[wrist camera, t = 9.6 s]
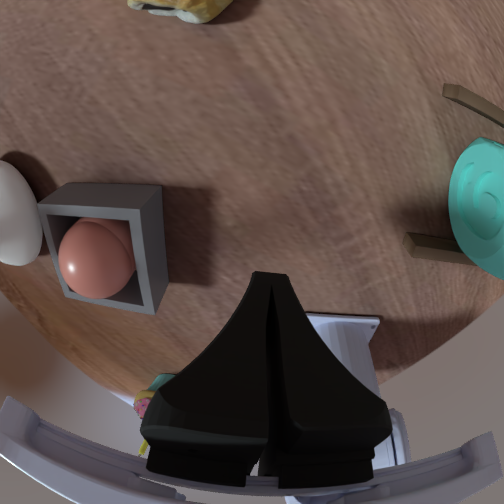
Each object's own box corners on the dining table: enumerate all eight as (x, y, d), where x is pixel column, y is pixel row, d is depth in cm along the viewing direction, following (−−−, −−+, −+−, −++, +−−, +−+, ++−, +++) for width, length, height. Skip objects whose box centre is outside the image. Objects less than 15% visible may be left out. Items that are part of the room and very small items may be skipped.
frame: (492, 257, 20) (502, 269, 19) (402, 243, 20) (411, 257, 19) (533, 136, 13) (547, 143, 12) (444, 83, 13) (459, 85, 12)
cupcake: (144, 386, 35) (122, 459, 25) (143, 356, 31) (114, 443, 21) (201, 402, 36) (188, 477, 26) (211, 375, 32) (196, 467, 22)
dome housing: (169, 282, 24) (155, 315, 21) (85, 269, 24) (65, 296, 21) (161, 185, 19) (139, 209, 16) (66, 182, 19) (36, 203, 16)
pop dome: (150, 271, 23) (123, 323, 18) (91, 262, 23) (58, 307, 18) (142, 205, 19) (104, 250, 14) (78, 201, 19) (33, 240, 14)
